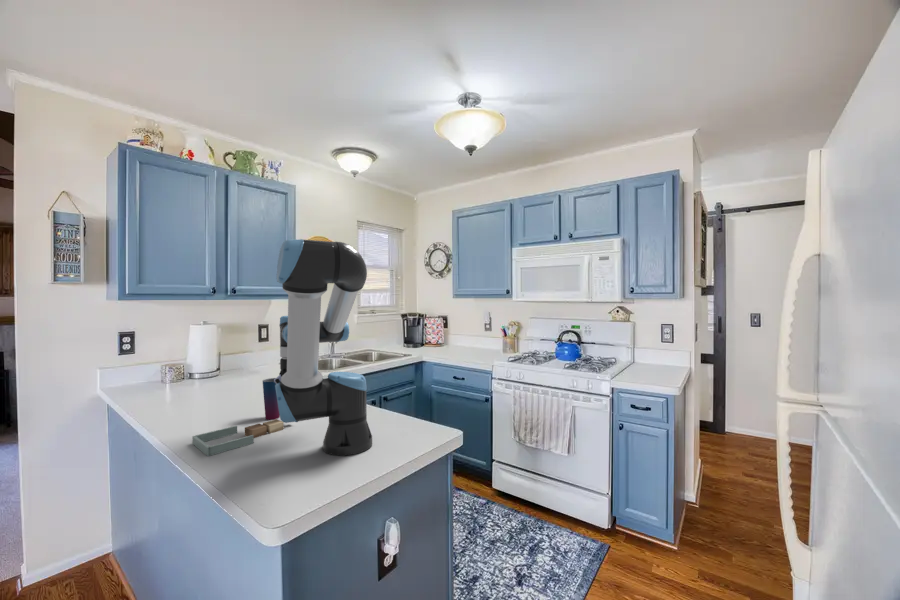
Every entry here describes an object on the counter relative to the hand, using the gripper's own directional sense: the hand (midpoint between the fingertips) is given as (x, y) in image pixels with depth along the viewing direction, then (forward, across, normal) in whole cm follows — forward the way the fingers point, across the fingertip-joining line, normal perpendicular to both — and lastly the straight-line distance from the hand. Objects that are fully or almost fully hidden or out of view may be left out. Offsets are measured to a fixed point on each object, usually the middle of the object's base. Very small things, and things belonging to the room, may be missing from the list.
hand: (291, 420), depth 141 cm
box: (+2, +23, 0) cm, 23 cm away
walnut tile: (+2, +13, 0) cm, 13 cm away
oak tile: (+2, +7, 0) cm, 7 cm away
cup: (+2, +1, -14) cm, 14 cm away
